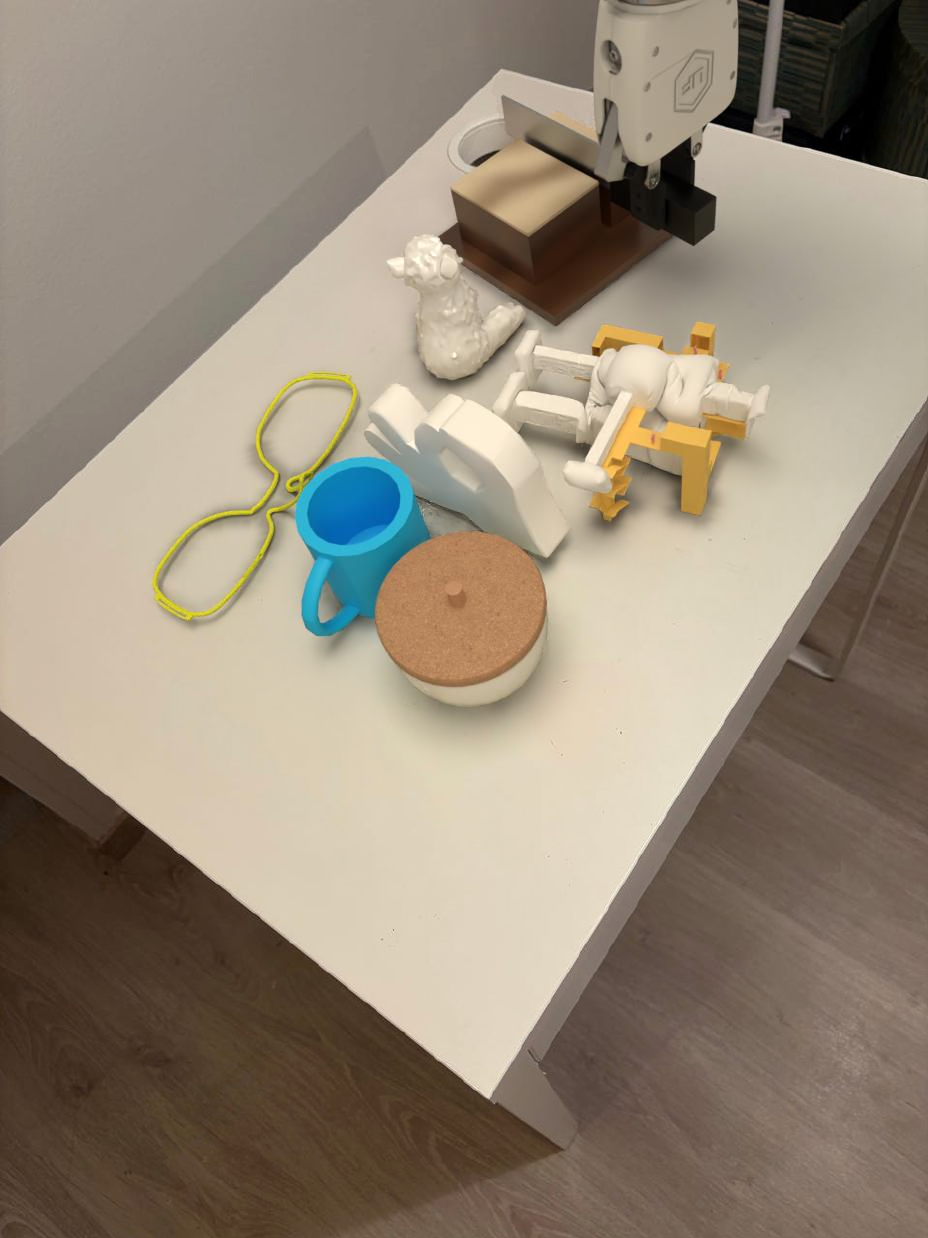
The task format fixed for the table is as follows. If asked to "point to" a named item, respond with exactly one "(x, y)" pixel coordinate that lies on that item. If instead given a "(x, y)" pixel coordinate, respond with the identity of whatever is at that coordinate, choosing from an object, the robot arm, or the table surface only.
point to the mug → (355, 535)
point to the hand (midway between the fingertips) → (662, 209)
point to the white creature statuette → (451, 310)
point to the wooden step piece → (608, 210)
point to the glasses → (261, 502)
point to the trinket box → (464, 617)
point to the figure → (635, 409)
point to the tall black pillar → (684, 201)
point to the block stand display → (542, 231)
